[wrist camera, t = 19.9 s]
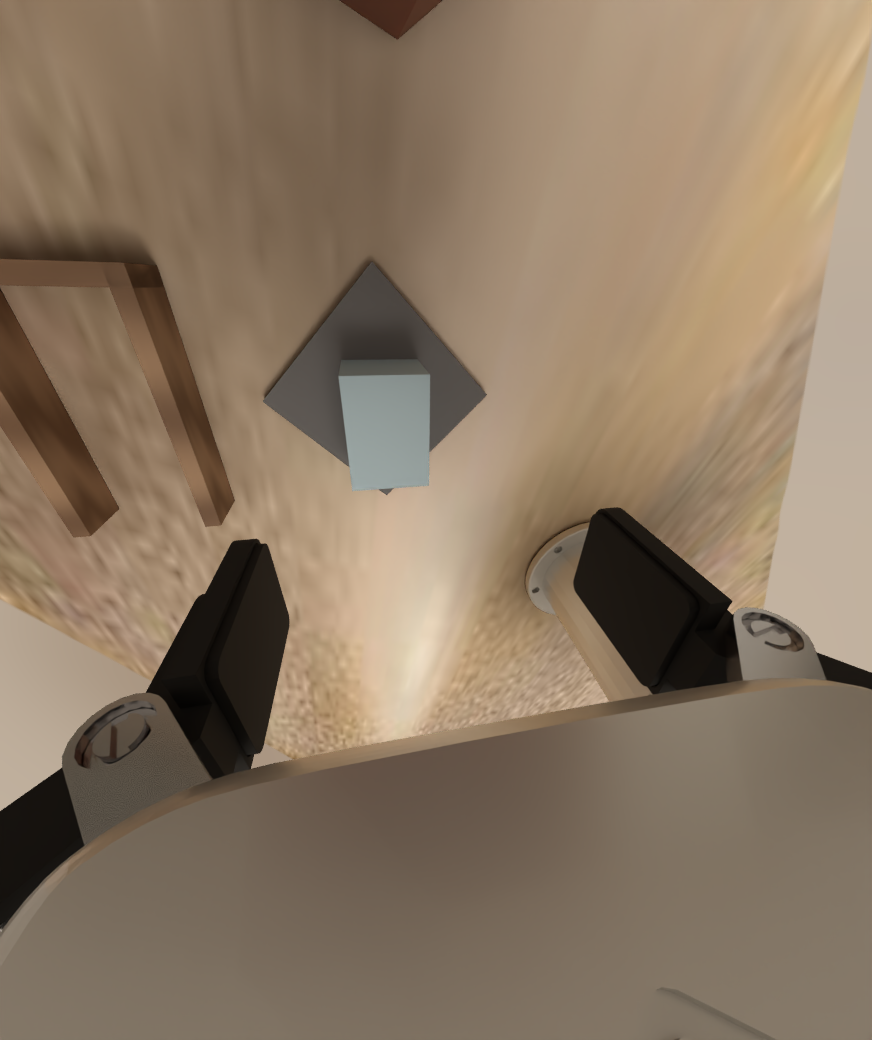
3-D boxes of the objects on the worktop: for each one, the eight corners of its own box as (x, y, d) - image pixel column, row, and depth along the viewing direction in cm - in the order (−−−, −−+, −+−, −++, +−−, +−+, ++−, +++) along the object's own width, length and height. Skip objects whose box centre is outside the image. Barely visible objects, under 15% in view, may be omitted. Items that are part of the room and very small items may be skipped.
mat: (483, 392, 27) (487, 394, 26) (386, 490, 30) (386, 495, 29) (371, 262, 22) (371, 261, 21) (265, 398, 25) (262, 401, 24)
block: (418, 456, 28) (428, 485, 24) (352, 459, 27) (352, 490, 23) (417, 359, 24) (430, 374, 20) (341, 359, 23) (338, 376, 19)
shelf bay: (234, 500, 28) (220, 525, 25) (103, 510, 27) (73, 537, 24) (156, 265, 20) (123, 262, 17) (-39, 260, 18) (-112, 255, 15)
